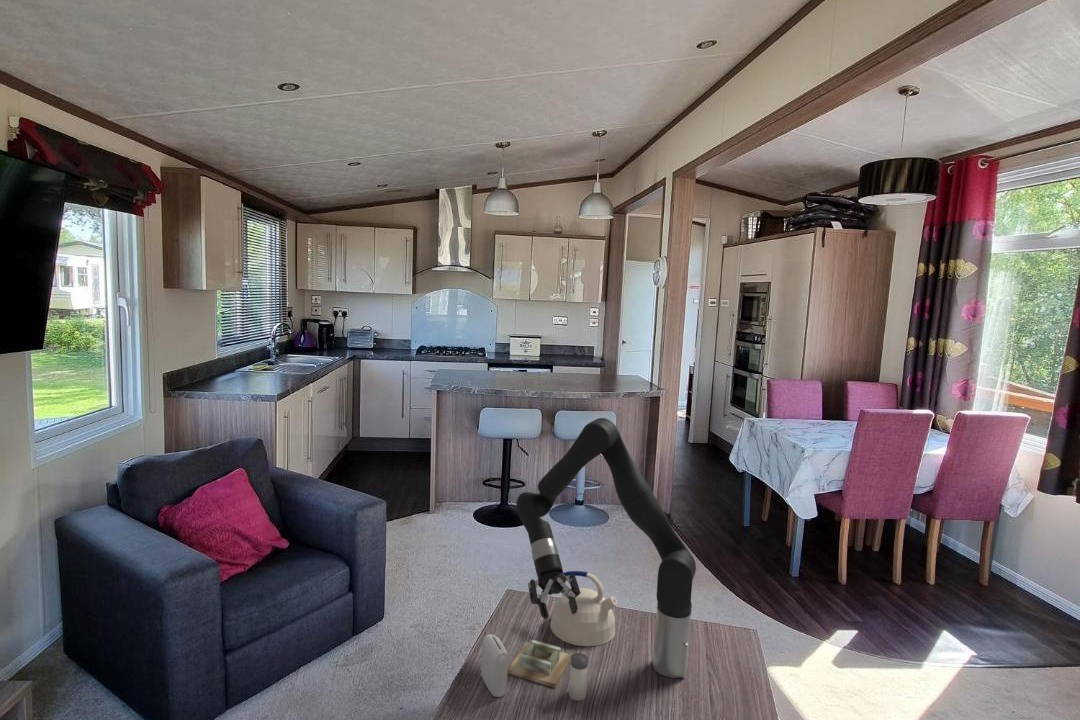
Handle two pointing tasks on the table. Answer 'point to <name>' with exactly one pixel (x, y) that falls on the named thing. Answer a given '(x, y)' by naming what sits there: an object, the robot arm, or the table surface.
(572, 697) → the grey and white cylinder
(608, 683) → the table surface
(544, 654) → the holder
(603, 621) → the kettle
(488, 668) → the photo printer
